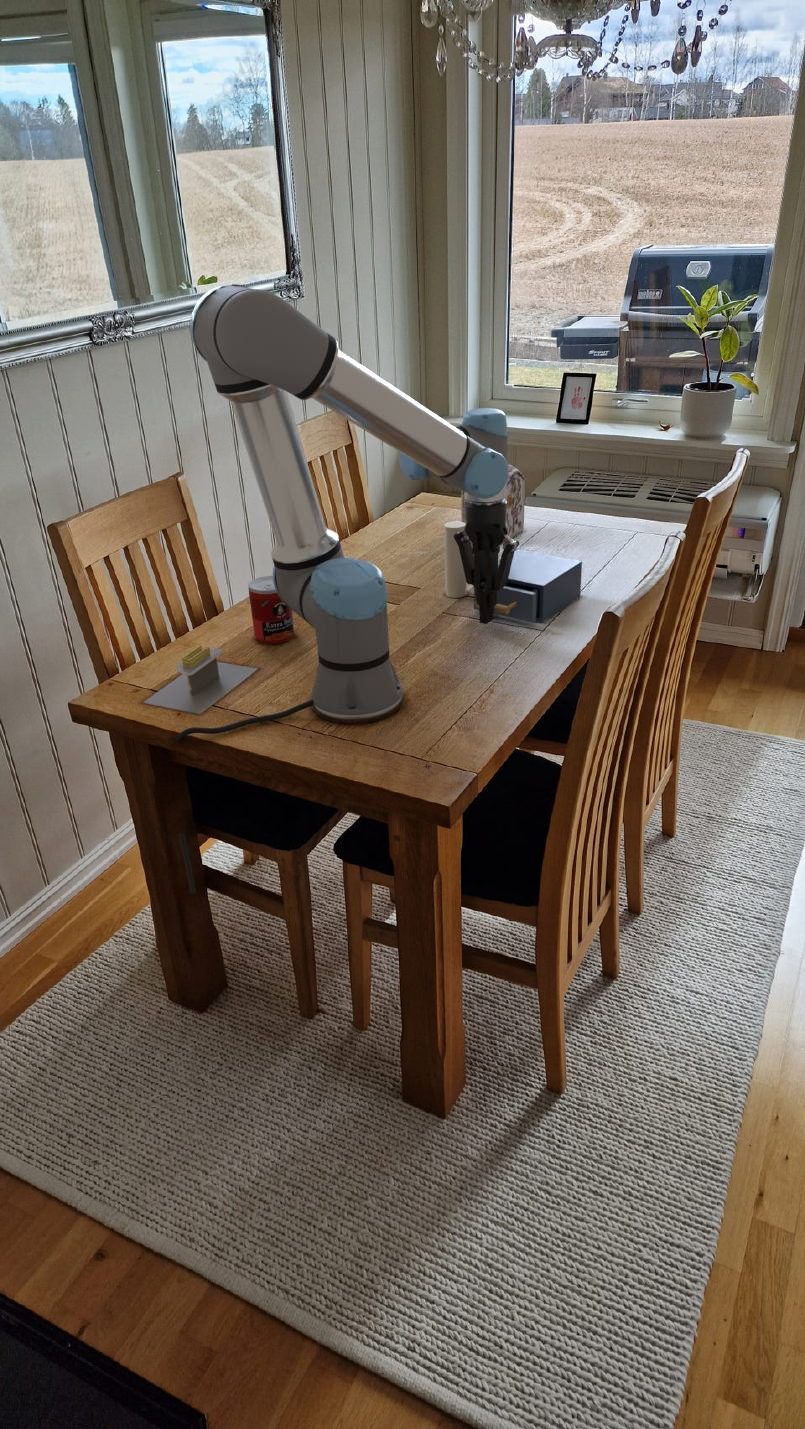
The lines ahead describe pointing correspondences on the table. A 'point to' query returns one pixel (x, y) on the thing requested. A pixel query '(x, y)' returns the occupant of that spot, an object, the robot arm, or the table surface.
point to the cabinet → (547, 579)
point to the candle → (453, 561)
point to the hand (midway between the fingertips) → (486, 621)
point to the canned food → (269, 612)
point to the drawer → (516, 602)
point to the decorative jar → (510, 502)
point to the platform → (200, 682)
